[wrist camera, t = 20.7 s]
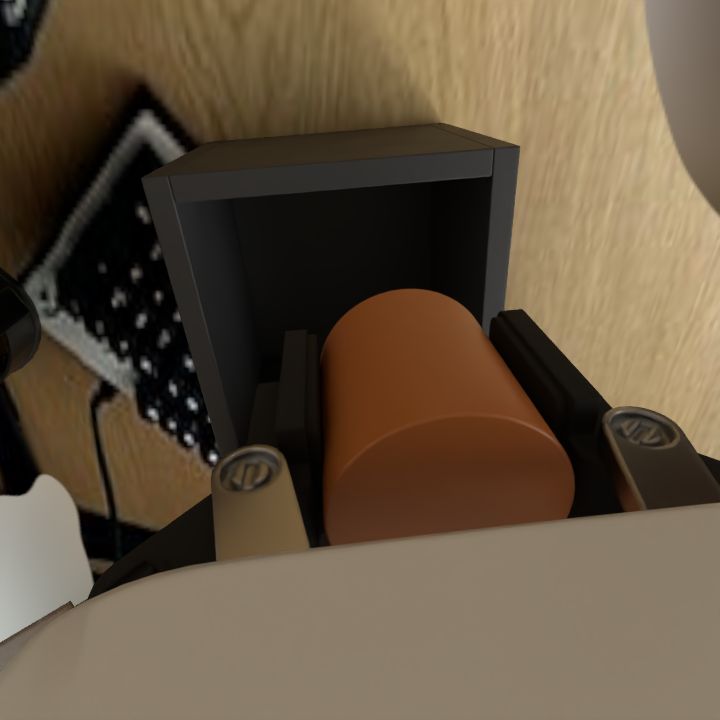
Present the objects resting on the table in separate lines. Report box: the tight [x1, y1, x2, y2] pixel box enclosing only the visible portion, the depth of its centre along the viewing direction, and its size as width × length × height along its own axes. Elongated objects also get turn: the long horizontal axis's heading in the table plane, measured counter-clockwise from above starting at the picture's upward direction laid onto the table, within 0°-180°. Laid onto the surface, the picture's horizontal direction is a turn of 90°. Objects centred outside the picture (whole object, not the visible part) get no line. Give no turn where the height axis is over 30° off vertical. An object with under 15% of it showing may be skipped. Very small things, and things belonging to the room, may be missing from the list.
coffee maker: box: [141, 123, 520, 458], centre depth 26 cm, size 15×14×12 cm
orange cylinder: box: [320, 289, 575, 546], centre depth 10 cm, size 4×4×5 cm
